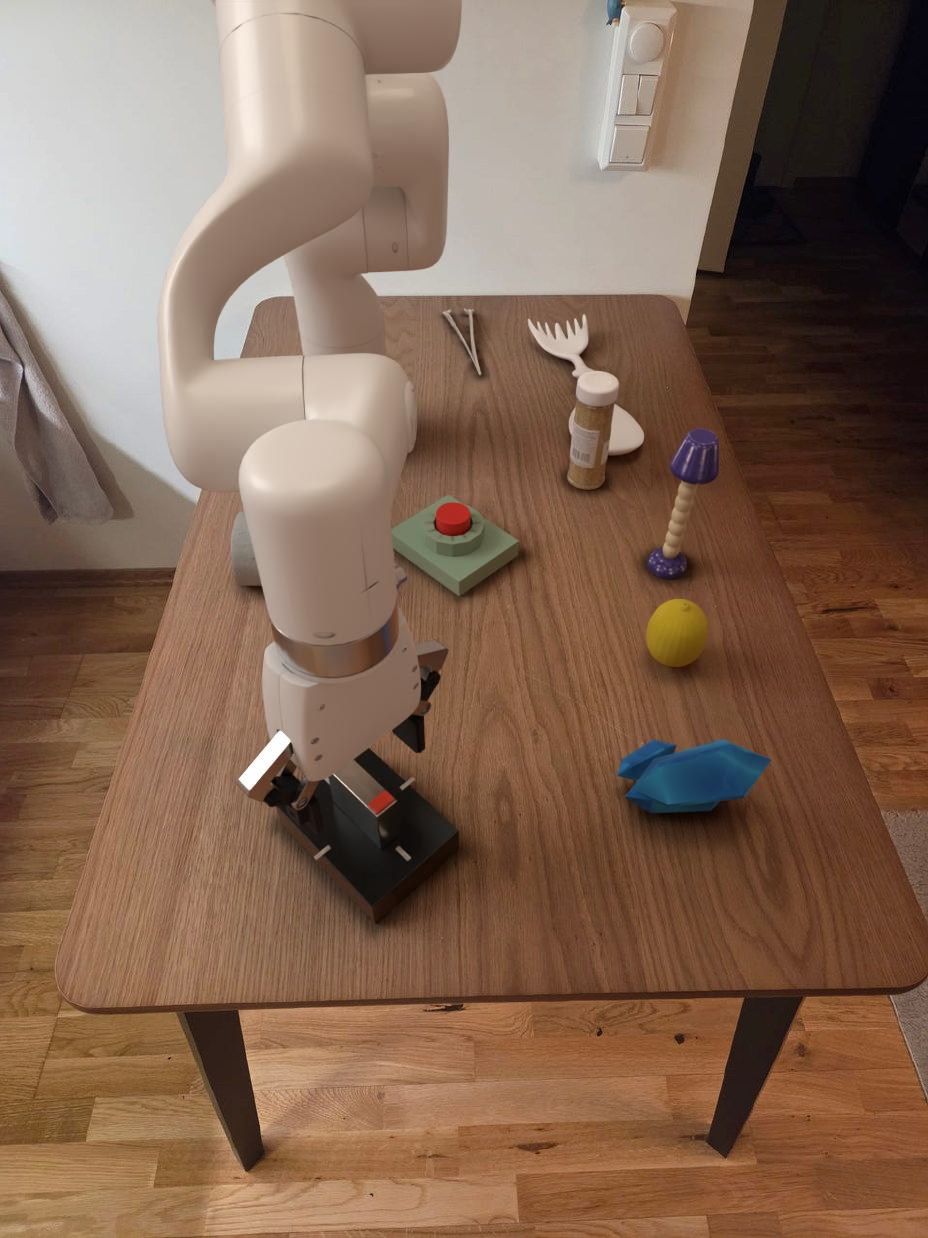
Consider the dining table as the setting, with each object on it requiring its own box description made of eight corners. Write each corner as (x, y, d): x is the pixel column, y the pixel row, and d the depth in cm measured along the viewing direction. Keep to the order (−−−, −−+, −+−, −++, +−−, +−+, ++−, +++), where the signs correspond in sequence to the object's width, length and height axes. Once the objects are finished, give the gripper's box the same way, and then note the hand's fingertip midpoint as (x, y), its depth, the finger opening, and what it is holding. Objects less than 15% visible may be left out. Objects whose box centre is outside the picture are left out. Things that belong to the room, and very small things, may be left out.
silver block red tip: (332, 801, 69) (325, 765, 65) (352, 786, 70) (345, 750, 66) (381, 850, 66) (376, 815, 63) (400, 833, 67) (397, 798, 63)
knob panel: (274, 828, 71) (268, 808, 69) (369, 755, 76) (366, 735, 74) (369, 930, 65) (365, 912, 63) (464, 844, 70) (464, 824, 68)
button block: (389, 545, 95) (387, 517, 92) (448, 508, 99) (447, 481, 96) (459, 596, 89) (459, 569, 86) (518, 555, 94) (520, 527, 91)
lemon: (663, 691, 81) (679, 634, 75) (629, 651, 84) (641, 594, 78) (709, 670, 83) (728, 613, 77) (674, 632, 86) (690, 575, 80)
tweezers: (441, 316, 129) (441, 303, 128) (472, 313, 130) (472, 301, 129) (463, 385, 119) (463, 373, 117) (496, 382, 119) (497, 370, 118)
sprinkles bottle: (612, 483, 102) (628, 383, 92) (582, 496, 101) (595, 396, 91) (587, 463, 105) (601, 364, 95) (558, 476, 103) (568, 376, 93)
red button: (429, 525, 91) (428, 512, 90) (453, 510, 93) (453, 497, 92) (452, 541, 90) (452, 529, 88) (477, 525, 91) (477, 513, 90)
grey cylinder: (317, 601, 89) (308, 544, 83) (237, 600, 89) (223, 544, 83) (328, 534, 96) (320, 478, 90) (255, 533, 96) (242, 477, 90)
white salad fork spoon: (584, 332, 126) (586, 310, 124) (652, 463, 105) (656, 439, 102) (524, 337, 125) (525, 315, 123) (580, 470, 104) (583, 447, 101)
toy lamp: (659, 545, 95) (689, 416, 83) (698, 562, 93) (735, 432, 81) (639, 569, 92) (667, 440, 80) (679, 587, 90) (714, 457, 78)
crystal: (605, 724, 70) (752, 692, 69) (615, 778, 76) (750, 750, 75) (625, 804, 65) (785, 771, 64) (634, 855, 71) (780, 826, 70)
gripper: (402, 525, 57) (412, 686, 70) (175, 663, 49) (232, 819, 61) (482, 581, 54) (478, 741, 66) (251, 740, 45) (296, 890, 58)
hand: (359, 778), depth 64 cm, fingers open, 9 cm apart
